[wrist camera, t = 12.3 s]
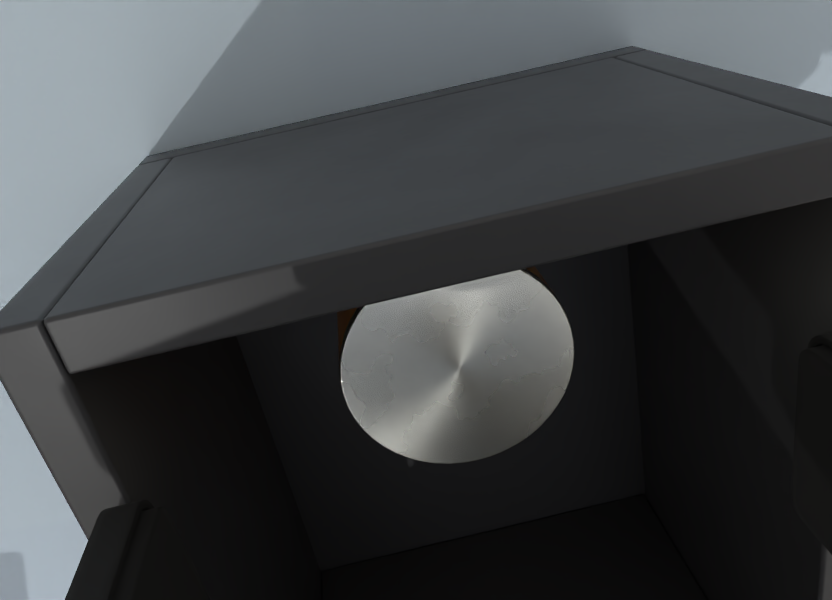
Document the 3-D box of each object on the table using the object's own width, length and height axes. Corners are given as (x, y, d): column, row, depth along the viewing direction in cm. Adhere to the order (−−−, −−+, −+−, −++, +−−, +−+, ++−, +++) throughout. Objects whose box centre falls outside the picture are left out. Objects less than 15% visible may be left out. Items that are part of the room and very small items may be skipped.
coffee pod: (314, 214, 16) (311, 290, 13) (507, 170, 16) (562, 231, 13) (360, 378, 18) (369, 486, 15) (531, 338, 19) (585, 435, 15)
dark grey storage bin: (145, 156, 16) (-28, 336, 8) (633, 45, 16) (920, 117, 8) (302, 574, 22) (289, 911, 14) (660, 489, 22) (842, 774, 14)
